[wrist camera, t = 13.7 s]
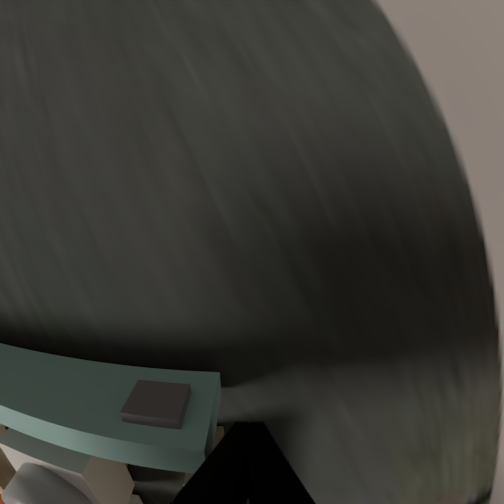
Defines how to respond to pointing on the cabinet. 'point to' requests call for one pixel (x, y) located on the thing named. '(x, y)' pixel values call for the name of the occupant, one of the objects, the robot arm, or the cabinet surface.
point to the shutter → (111, 408)
